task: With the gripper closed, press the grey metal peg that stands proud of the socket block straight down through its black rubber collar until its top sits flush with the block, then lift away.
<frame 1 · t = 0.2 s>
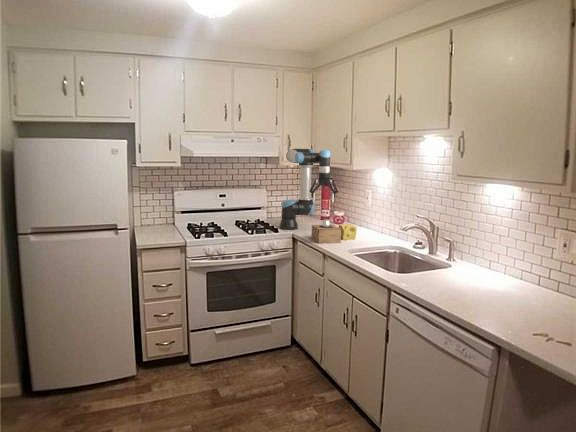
hand: (323, 202, 301), 27 cm above the worktop, fingers open, 13 cm apart
socket block: (325, 240, 304), on the worktop
cheese: (346, 238, 313), on the worktop
peg: (326, 226, 303), point 10 cm above the worktop, slide at 5.0 cm
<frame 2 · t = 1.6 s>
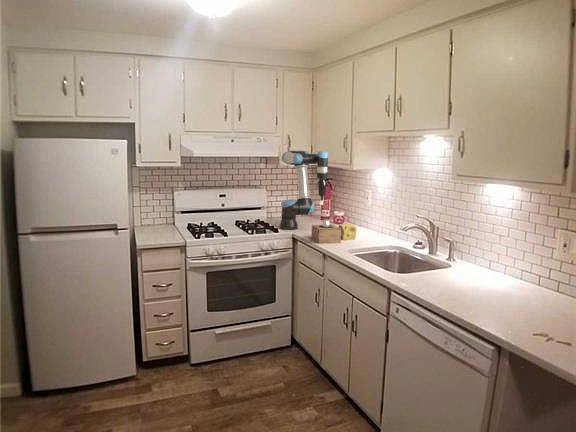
hand: (321, 204, 313), 24 cm above the worktop, fingers closed
nothing on the worktop moved.
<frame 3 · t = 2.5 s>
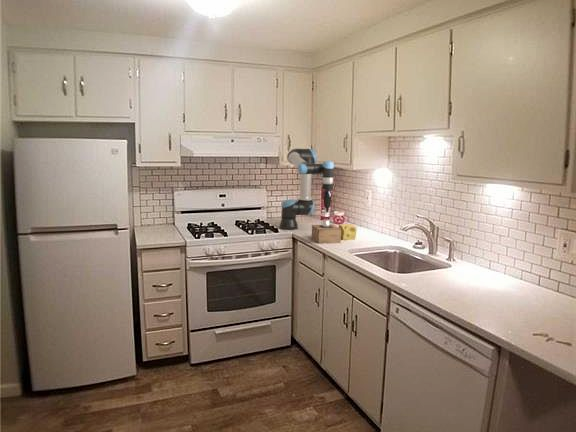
hand: (326, 216, 301), 18 cm above the worktop, fingers closed
nothing on the worktop moved.
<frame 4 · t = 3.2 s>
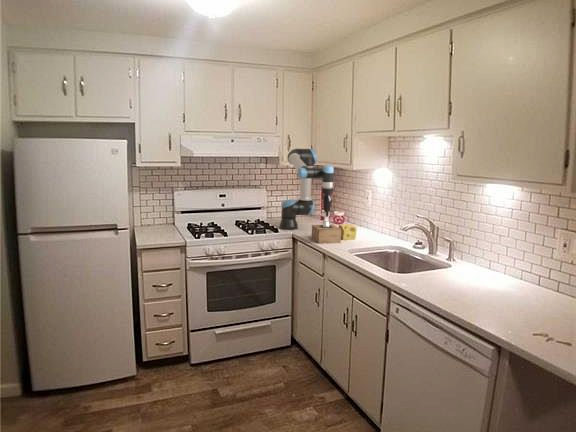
hand: (326, 220, 302), 14 cm above the worktop, fingers closed
peg: (326, 227, 303), point 10 cm above the worktop, slide at 4.2 cm, touching gripper
everything else where it was.
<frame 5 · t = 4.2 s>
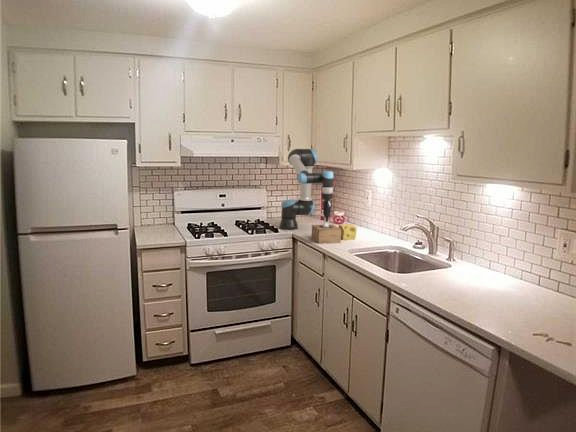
hand: (326, 225, 303), 11 cm above the worktop, fingers closed
peg: (326, 232, 303), point 6 cm above the worktop, slide at 0.5 cm, touching gripper
everything else where it was.
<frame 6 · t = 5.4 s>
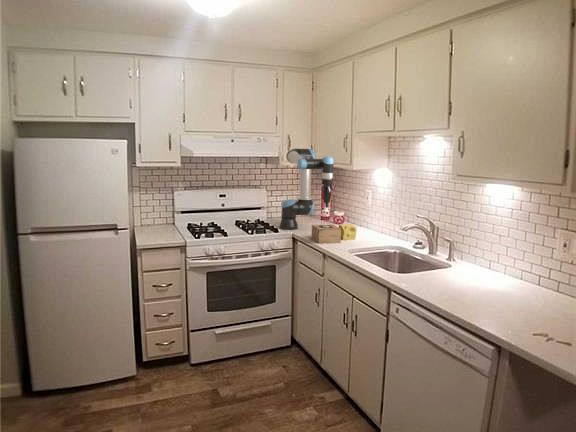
hand: (326, 211, 304), 21 cm above the worktop, fingers closed
peg: (326, 232, 303), point 6 cm above the worktop, slide at 0.5 cm
everything else where it was.
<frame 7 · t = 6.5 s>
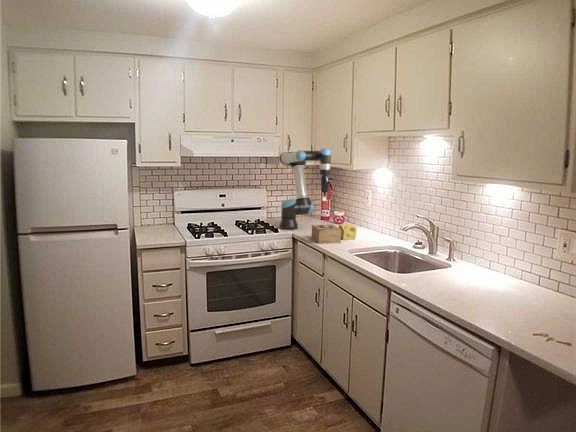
hand: (324, 200, 319), 26 cm above the worktop, fingers closed
nothing on the worktop moved.
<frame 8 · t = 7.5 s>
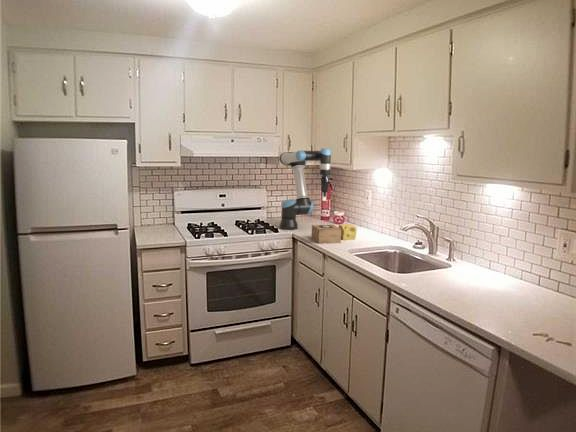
hand: (324, 200, 319), 26 cm above the worktop, fingers closed
nothing on the worktop moved.
at the end: peg slide at 0.5 cm; the gripper is holding nothing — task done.
